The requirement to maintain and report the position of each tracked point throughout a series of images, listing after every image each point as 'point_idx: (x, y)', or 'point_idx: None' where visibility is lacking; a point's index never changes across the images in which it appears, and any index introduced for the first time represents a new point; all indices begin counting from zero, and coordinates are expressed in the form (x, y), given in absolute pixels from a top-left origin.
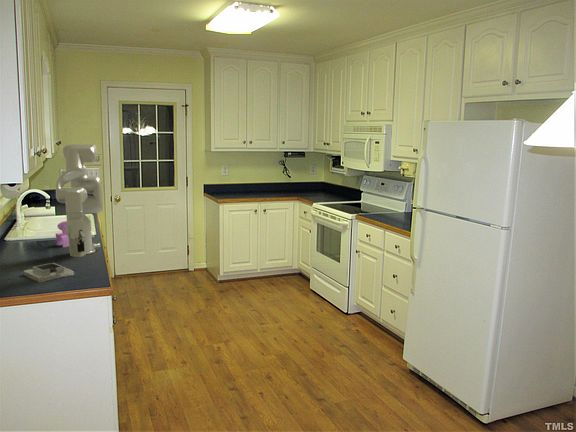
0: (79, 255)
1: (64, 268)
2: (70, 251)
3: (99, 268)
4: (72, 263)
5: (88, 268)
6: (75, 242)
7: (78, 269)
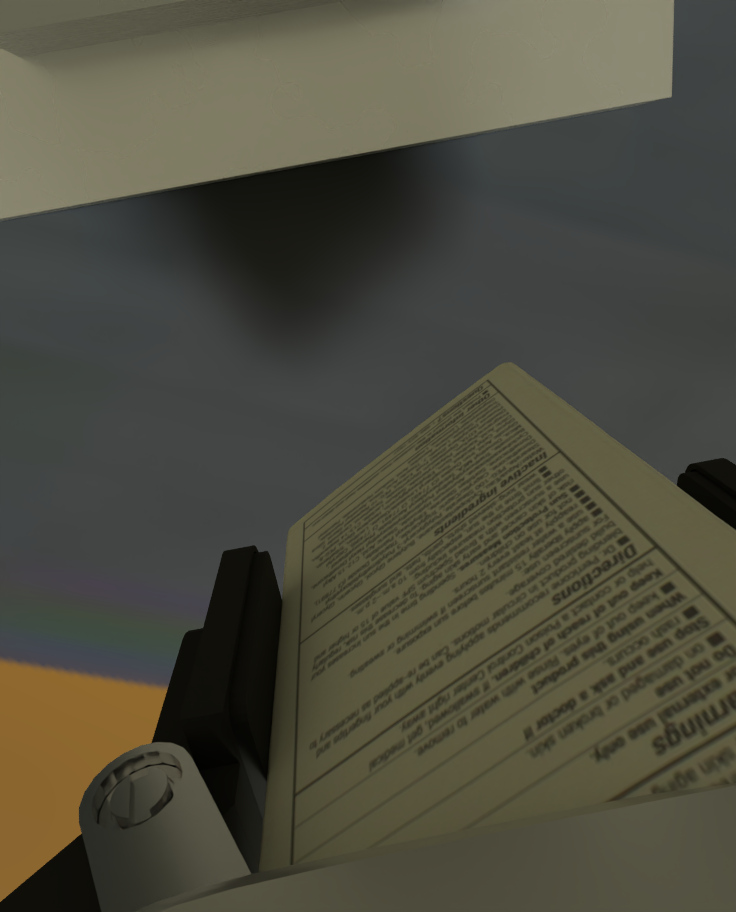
0: (308, 523)
1: (219, 123)
2: (530, 403)
3: (180, 629)
4: (728, 400)
5: (272, 516)
6: (409, 721)
7: (304, 384)
